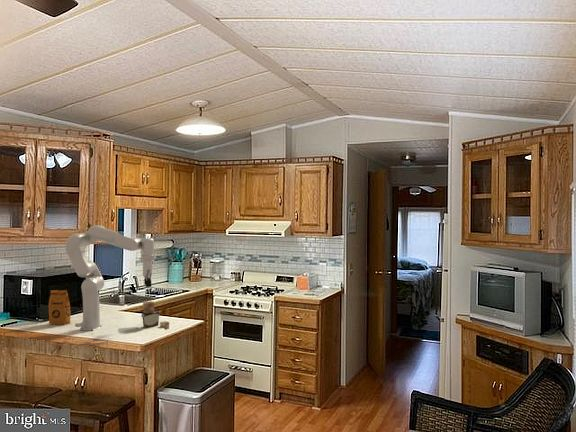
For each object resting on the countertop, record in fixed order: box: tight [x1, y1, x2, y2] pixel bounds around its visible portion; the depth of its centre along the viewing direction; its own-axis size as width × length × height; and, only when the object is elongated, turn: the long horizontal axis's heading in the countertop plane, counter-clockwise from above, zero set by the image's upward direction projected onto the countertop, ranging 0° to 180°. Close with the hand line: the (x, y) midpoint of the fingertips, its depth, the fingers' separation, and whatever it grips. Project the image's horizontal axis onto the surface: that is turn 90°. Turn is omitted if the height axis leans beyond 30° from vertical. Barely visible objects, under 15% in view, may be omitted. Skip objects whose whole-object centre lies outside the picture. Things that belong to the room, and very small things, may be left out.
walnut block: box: [142, 300, 155, 313], centre depth 294 cm, size 6×6×6 cm
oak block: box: [159, 320, 170, 330], centre depth 293 cm, size 4×4×4 cm
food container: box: [141, 310, 161, 329], centre depth 294 cm, size 12×6×10 cm, turn 141°
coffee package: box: [48, 289, 71, 326], centre depth 308 cm, size 10×12×22 cm
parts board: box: [117, 326, 141, 333], centre depth 286 cm, size 12×10×1 cm
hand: (147, 285), depth 294 cm, fingers open, 9 cm apart
